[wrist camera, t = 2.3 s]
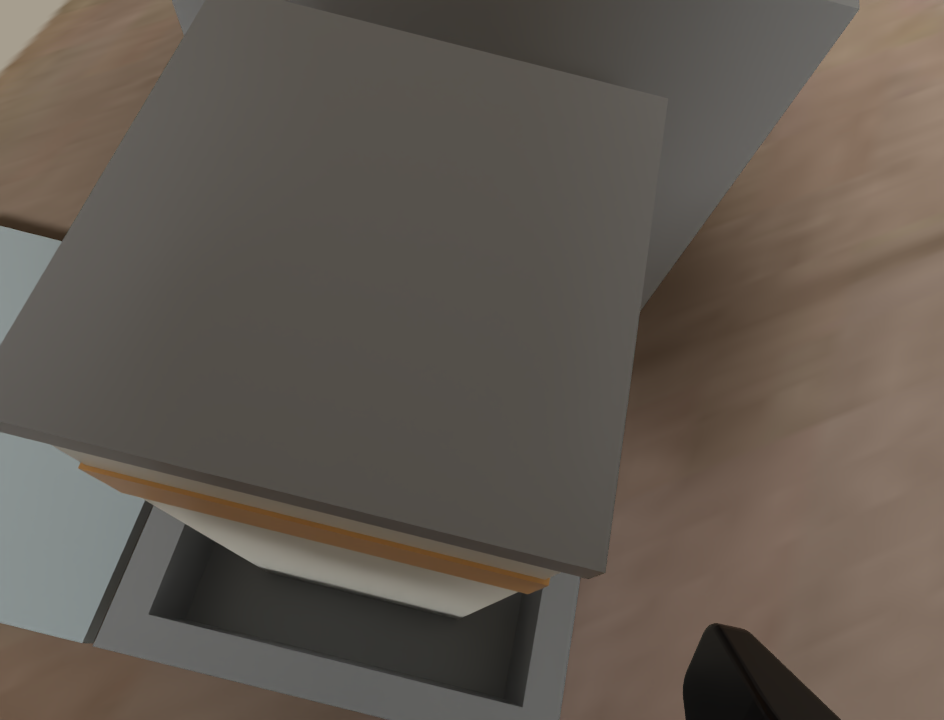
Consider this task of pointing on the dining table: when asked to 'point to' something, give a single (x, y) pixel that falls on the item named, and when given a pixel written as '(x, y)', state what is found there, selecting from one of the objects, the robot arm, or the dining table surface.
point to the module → (355, 307)
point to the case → (673, 227)
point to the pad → (54, 502)
